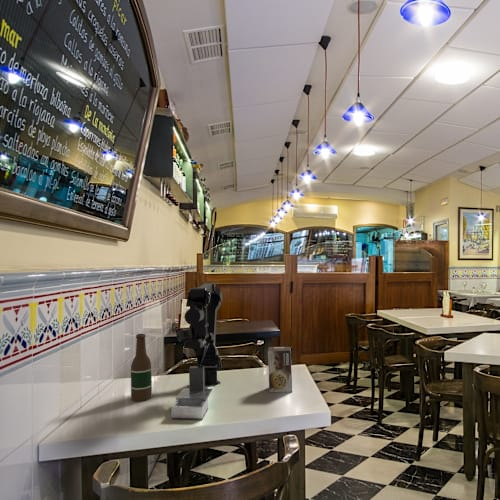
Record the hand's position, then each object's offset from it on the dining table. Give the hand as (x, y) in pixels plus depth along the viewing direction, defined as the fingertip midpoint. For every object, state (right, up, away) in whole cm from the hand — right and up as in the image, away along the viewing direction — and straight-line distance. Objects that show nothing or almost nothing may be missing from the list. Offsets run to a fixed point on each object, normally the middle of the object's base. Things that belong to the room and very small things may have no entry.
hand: (199, 363), depth 139 cm
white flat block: (-1, -12, -15) cm, 20 cm away
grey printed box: (+31, -13, +7) cm, 34 cm away
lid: (-1, -8, -9) cm, 12 cm away
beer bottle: (-22, -14, +1) cm, 26 cm away
